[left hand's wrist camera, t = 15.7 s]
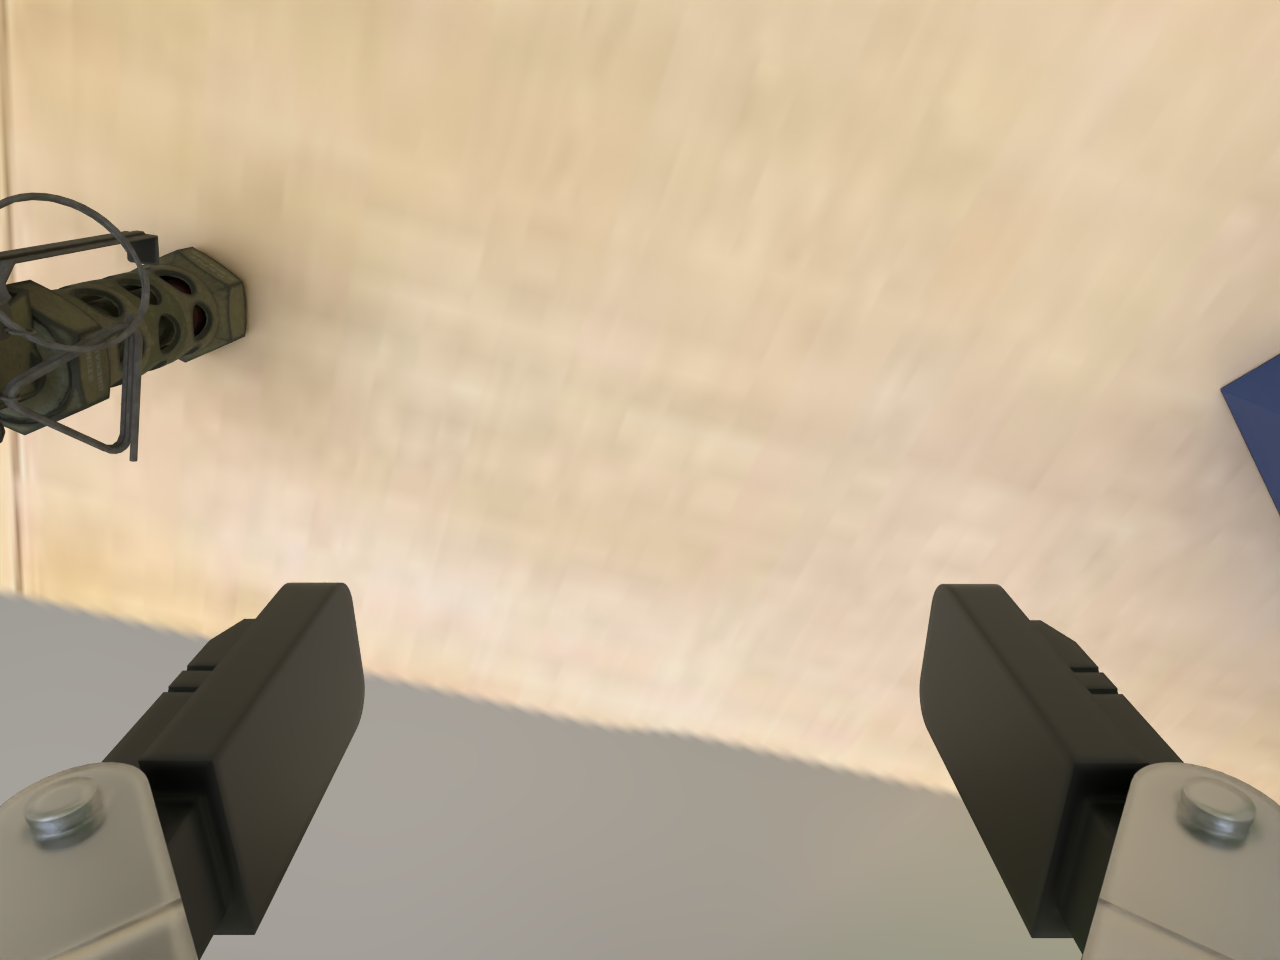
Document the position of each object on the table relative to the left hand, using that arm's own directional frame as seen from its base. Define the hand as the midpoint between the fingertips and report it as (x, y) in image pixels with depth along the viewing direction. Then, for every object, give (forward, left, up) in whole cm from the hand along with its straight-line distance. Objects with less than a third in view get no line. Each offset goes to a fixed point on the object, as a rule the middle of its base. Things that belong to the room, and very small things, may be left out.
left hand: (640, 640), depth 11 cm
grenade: (-15, -13, -29) cm, 35 cm away
